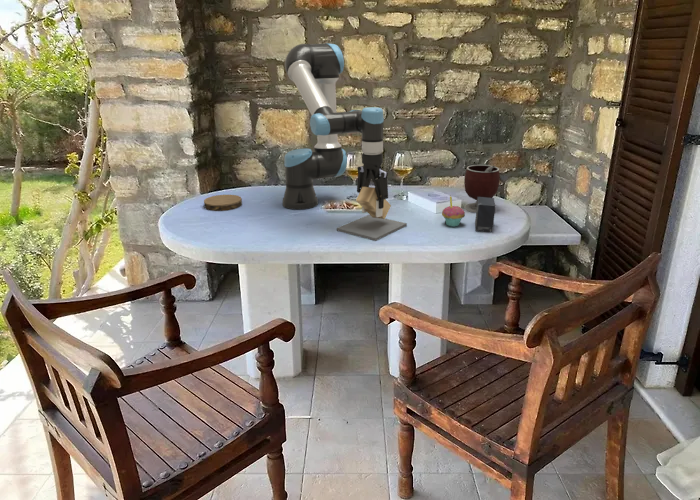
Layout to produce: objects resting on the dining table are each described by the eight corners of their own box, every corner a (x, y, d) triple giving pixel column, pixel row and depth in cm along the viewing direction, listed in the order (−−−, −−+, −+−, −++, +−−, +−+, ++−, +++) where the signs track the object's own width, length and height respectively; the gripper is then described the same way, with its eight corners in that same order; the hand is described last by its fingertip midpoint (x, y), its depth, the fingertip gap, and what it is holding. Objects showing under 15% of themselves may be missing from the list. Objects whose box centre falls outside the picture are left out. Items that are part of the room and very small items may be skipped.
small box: (493, 232, 189) (496, 205, 185) (475, 231, 190) (477, 204, 186) (492, 223, 198) (494, 197, 194) (474, 222, 199) (476, 196, 196)
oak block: (372, 217, 197) (355, 200, 188) (378, 204, 198) (362, 186, 190) (384, 219, 193) (368, 201, 184) (391, 205, 194) (375, 187, 186)
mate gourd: (456, 205, 220) (460, 158, 213) (486, 202, 223) (490, 156, 216) (473, 216, 206) (477, 166, 199) (504, 213, 209) (510, 164, 202)
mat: (336, 230, 193) (336, 228, 192) (368, 217, 207) (368, 214, 207) (375, 240, 182) (375, 238, 182) (406, 225, 196) (406, 223, 196)
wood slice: (202, 212, 216) (201, 205, 214) (206, 202, 230) (205, 195, 229) (241, 210, 218) (240, 203, 217) (242, 200, 232) (242, 193, 231)
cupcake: (451, 229, 192) (453, 198, 188) (436, 223, 199) (438, 193, 194) (468, 225, 196) (471, 194, 192) (453, 219, 203) (455, 189, 198)
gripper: (399, 155, 179) (398, 218, 188) (361, 147, 193) (361, 206, 202) (384, 158, 175) (383, 222, 183) (346, 150, 188) (347, 210, 197)
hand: (372, 214), depth 192 cm, fingers closed on oak block, 7 cm apart
